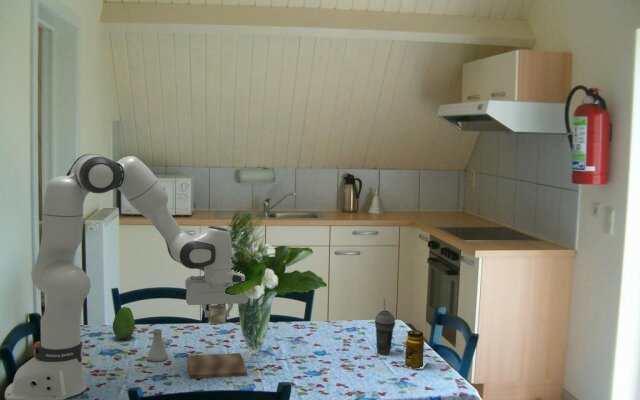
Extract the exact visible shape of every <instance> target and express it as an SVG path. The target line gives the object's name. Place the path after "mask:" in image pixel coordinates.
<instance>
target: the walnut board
mask: <svg viewBox="0 0 640 400" xmlns="http://www.w3.org/2000/svg"><path fill="white" fill-rule="evenodd" d="M187 365H188V371H189V378H190V379H191V380H193V379H205V378H206V379H208V378H209V379H210V378H226V377H245V376H248V370H247V367H246V365H245V362H244V360H243V357H242V353H241V352H235V353H219V354H218V353H216V354H215V353H214V354H195V355H193V354H192V355H187Z"/></svg>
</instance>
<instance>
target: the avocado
mask: <svg viewBox="0 0 640 400" xmlns="http://www.w3.org/2000/svg"><path fill="white" fill-rule="evenodd" d="M135 323H136V321H135V318H134V314H133V312H132V309H131V308H130V307H127V306H124V307H121V308H119V309H118V311H117V312H116V314H115V317H114V318H113V322H112V331H113V334H114V336H115V337H116V338H117V339H119V340H127V339H129V338H131V337H132V335H133V334H134V331H135V327H136V324H135Z"/></svg>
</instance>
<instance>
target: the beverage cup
mask: <svg viewBox="0 0 640 400" xmlns="http://www.w3.org/2000/svg"><path fill="white" fill-rule="evenodd" d="M395 325H396V321H395V317H394V314H392V312H390V311H388V310H386V298H385V297H383V310H382V311H379V312H378V313H377V314H376V315H375V319H374V327H375V332H376V333H375V334H376V351H377V353H376V354H378V355H379V354H380V355H379V356H390V354H391V349H392V343H393V340H392V339H393V332H394V328H395Z"/></svg>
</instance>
